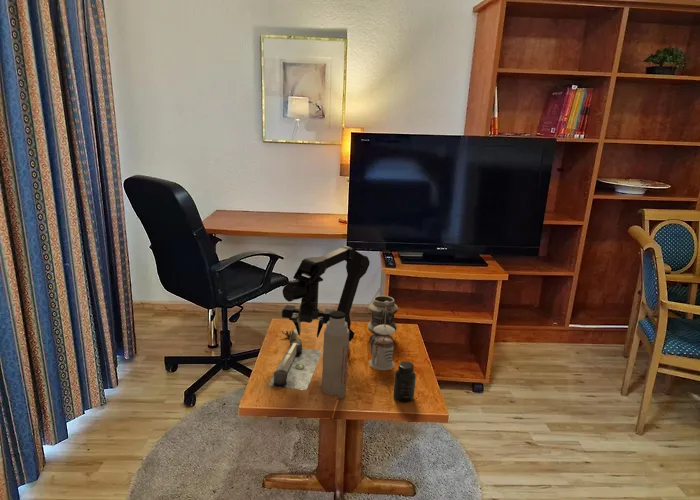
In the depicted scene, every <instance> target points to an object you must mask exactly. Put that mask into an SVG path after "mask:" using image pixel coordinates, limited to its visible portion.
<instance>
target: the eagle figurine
mask: <svg viewBox="0 0 700 500" xmlns="http://www.w3.org/2000/svg"><path fill="white" fill-rule="evenodd" d="M281 334H283V335H285V336H286V337H287V339H288V342H290V343H291V342H293V341H300V342H302V339H300V337H298V336H299V335H298V332H297V329H296V328H292V330H290V332H288V330H286V331H285V332H284V331H283V330H281Z"/></svg>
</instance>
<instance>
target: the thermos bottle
mask: <svg viewBox="0 0 700 500" xmlns="http://www.w3.org/2000/svg"><path fill="white" fill-rule="evenodd" d="M325 326H326V327H324V329H323V345H322V346H323V348H322V349H323V350H322V373H321V391H322V392H323V393H325V394H327V395H330V396H337V397H336V400H338V399H341V398H344V397H345V395H346V391H347V390H346V389H347V375H348V358H349V357H348V355H349V349H348V343H349V344H350V341H349V329H348V326H347V322H345V313H343V312H340V311H337V310H336V311H333V312H331V313H330V321H328V322H327V324H325Z"/></svg>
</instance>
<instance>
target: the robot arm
mask: <svg viewBox="0 0 700 500" xmlns="http://www.w3.org/2000/svg"><path fill="white" fill-rule="evenodd" d="M369 259H370V258H369V257H368V256H366V255H364V254H362V253H360V252H358V251H357V250H355V248H353V247H351V246H347V245H342V246H340V247H339V248H337V249H335V250H332V251H330V252H328V253H325V254H323V255H321V256H316V257H315V256H311V257H307V258H304V259H302V260H301V262H300V264H299V265H298V268H297V270H296V272H295V273H294V276H293V279H292V280H288V281H286V284H285V285H284V286H283V289H282V296H283V298H284V299H285V301H287V302H293V301H297V300H301V301H300V306H299V308H298V309H297V306H296V305H290V304H286V305H285V306H284V307H283V308H282V309H281V318H283V319H288V320H289V321H292V322H293V324H294V326H295V329H296V330H297V333H298V335H297V336H301V331H302V328H301V326H302V325H301V323H307V324H311V323H312V322H313V320H318V319H319V320H318V327H317V333H316V338H319V336H320V334H321V331H322V328H323V326H324V325H326V324H327V322H328V321H330V313H331V312H333V311H340V312H343V313H345V322H347V326H348V329H349V343H348V350H349V349H350V342H351V341H352V340H353V339H354V336H355V332H354V331H353V330H352V329H351V324H352V322H351V318H350V317H351V316H350V313H351V310H352V307H353V304H354V300H355V296H356V293H357V289H358V286H359V283H360V280H361V278H363V277H364V276H365V274H367V271H368V269H369V266H370V263H371V261H370V260H369ZM344 261H345V262H346V263H345V264H346V265H345V269H346V275H347V276H346V280H345V282H344V286H343V289H342V293H341V296H340V299H339V303H338V306H337V309H331V308H325V310H324V311H320V310H319V305H318V304H319V287H320V285H319V284H320V283H321V282H323V281H324V278H323V277H321V276H322V275H324V274H326V273H325V272H326V271H327V270H328V269H329V268H332V267H334V266H336V265H338V264H339V263H342V262H344Z"/></svg>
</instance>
